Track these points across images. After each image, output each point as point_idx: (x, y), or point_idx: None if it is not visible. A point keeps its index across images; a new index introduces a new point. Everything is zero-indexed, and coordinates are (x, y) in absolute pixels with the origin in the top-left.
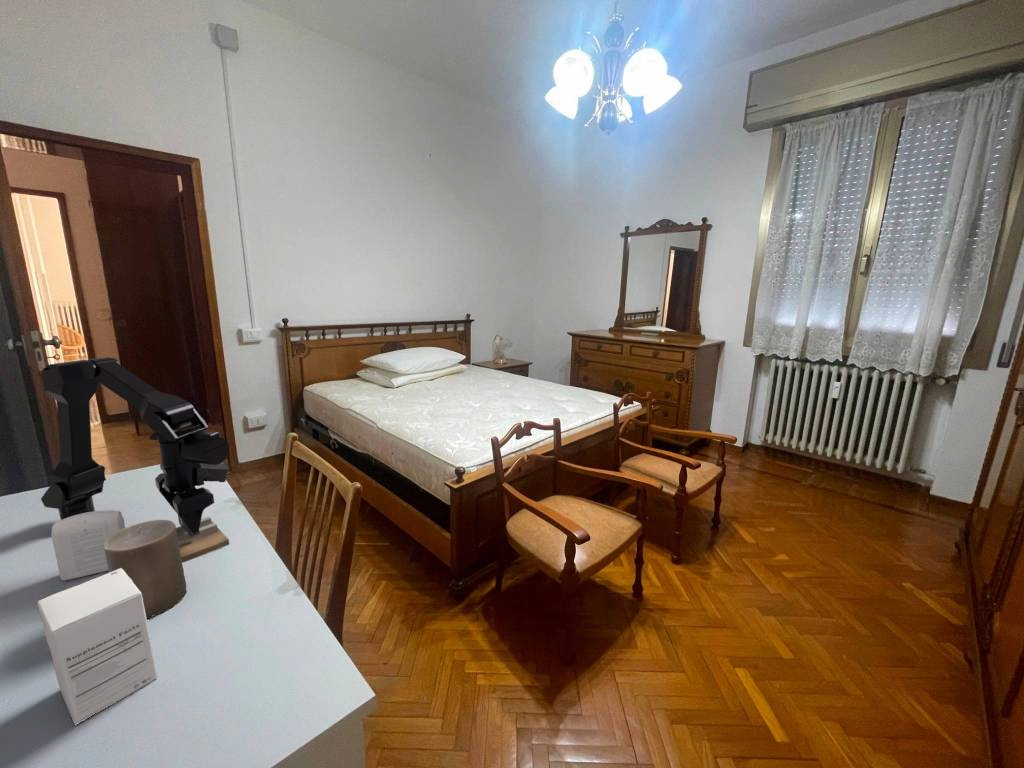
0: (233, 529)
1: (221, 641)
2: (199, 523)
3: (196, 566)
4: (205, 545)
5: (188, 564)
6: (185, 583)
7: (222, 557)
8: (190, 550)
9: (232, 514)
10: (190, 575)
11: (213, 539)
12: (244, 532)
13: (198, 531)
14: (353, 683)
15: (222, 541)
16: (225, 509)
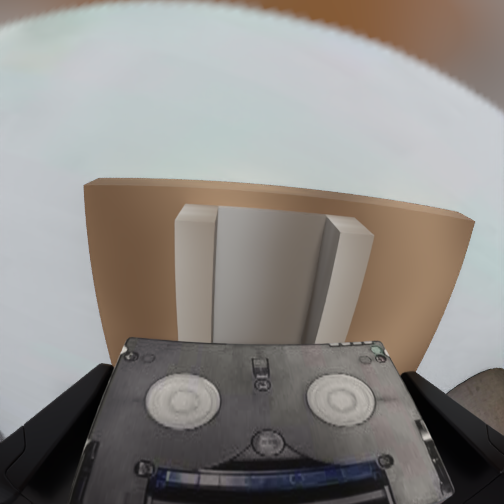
0: (340, 114)
1: None
2: (455, 405)
3: (456, 340)
4: (424, 310)
5: (426, 356)
6: (499, 376)
7: (493, 269)
8: (398, 358)
9: (120, 41)
10: (470, 357)
11: (413, 269)
12: (423, 102)
13: (387, 358)
14: None
15: (463, 247)
16: (31, 66)
